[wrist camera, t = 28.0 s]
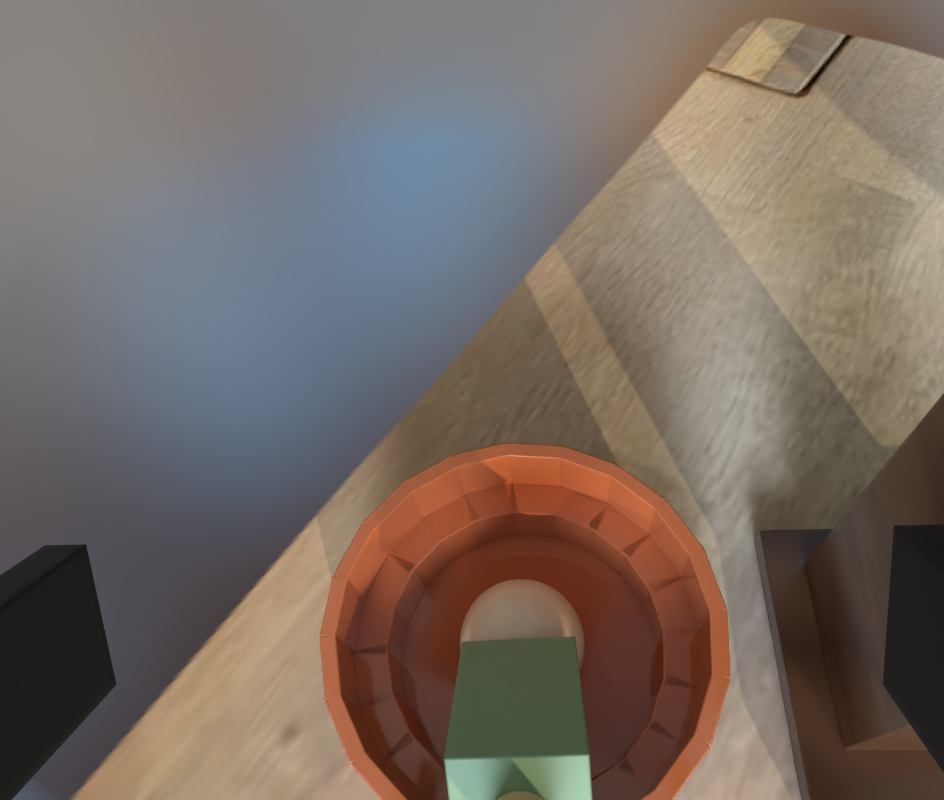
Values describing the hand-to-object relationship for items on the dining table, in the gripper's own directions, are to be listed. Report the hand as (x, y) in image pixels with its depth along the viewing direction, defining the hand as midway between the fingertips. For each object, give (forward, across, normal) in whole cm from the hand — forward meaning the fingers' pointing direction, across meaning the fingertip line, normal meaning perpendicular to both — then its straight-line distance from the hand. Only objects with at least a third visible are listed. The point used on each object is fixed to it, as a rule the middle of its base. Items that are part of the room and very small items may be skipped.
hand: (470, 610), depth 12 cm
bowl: (+17, 0, -12) cm, 21 cm away
